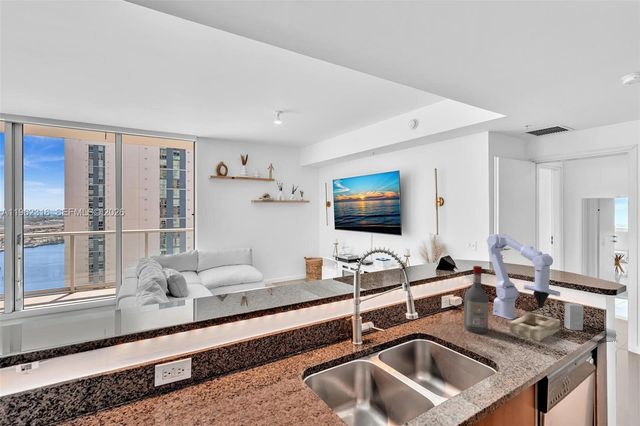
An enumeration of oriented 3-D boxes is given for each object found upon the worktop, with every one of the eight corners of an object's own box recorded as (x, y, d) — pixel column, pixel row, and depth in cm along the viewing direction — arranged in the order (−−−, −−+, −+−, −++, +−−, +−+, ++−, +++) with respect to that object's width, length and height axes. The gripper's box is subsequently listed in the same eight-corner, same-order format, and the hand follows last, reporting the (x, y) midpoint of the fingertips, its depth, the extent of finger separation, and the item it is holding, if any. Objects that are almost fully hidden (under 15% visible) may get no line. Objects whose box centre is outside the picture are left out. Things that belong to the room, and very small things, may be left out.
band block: (509, 332, 146) (510, 321, 146) (531, 322, 160) (531, 312, 160) (539, 342, 136) (539, 330, 136) (559, 330, 150) (560, 319, 150)
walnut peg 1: (523, 325, 145) (523, 314, 145) (527, 323, 147) (527, 312, 147) (533, 328, 142) (533, 317, 142) (536, 326, 144) (537, 315, 144)
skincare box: (576, 327, 154) (577, 303, 154) (582, 330, 150) (584, 305, 150) (563, 326, 155) (564, 302, 155) (569, 330, 151) (570, 305, 150)
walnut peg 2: (533, 327, 152) (534, 317, 152) (537, 325, 154) (537, 315, 154) (543, 330, 149) (543, 320, 149) (546, 328, 151) (547, 318, 151)
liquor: (488, 334, 144) (491, 269, 143) (467, 332, 146) (469, 267, 145) (482, 326, 153) (485, 265, 152) (462, 324, 154) (464, 264, 154)
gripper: (521, 277, 154) (520, 304, 155) (556, 283, 142) (555, 313, 143) (527, 275, 158) (526, 302, 159) (562, 281, 147) (561, 310, 147)
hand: (540, 307), depth 151 cm, fingers closed
